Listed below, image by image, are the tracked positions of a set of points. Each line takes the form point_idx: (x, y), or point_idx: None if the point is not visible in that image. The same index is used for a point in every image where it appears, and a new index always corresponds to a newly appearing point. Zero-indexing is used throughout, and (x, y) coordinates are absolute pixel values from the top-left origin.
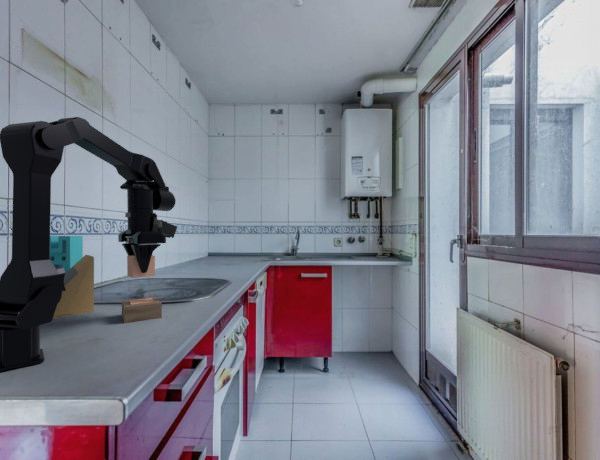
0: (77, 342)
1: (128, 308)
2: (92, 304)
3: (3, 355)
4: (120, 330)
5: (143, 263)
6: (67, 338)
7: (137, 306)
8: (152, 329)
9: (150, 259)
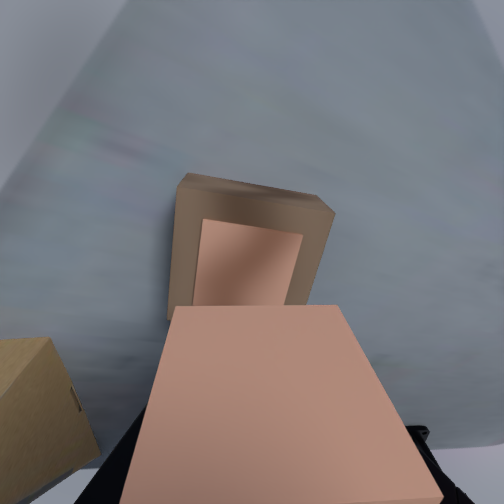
0: None
1: None
2: (36, 359)
3: None
4: (350, 320)
5: None
6: None
7: (307, 296)
8: (417, 260)
9: (454, 484)
